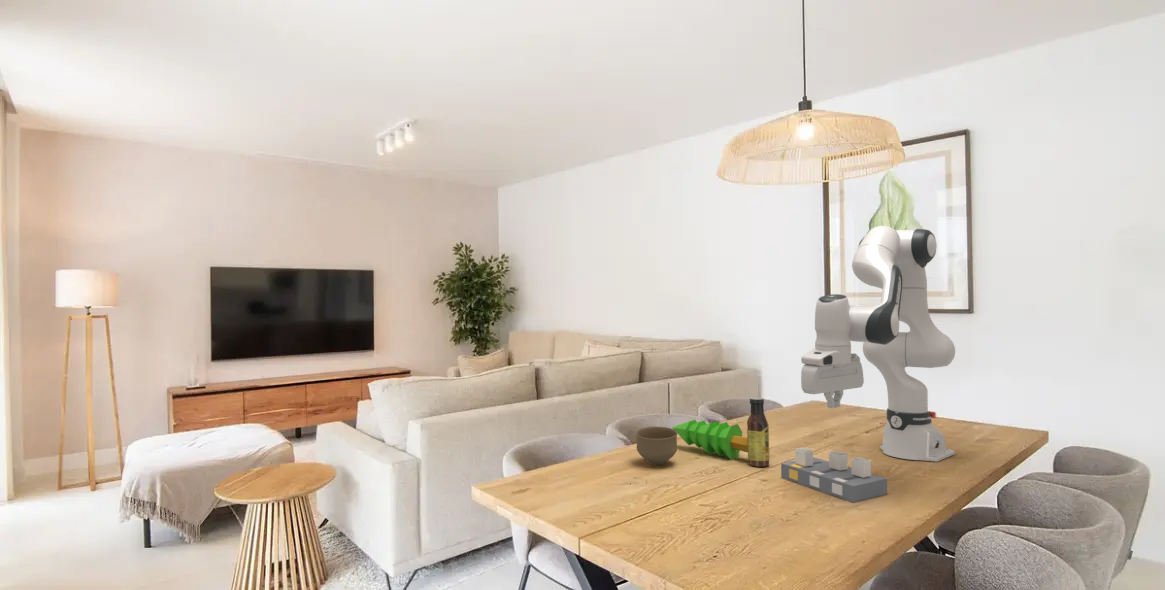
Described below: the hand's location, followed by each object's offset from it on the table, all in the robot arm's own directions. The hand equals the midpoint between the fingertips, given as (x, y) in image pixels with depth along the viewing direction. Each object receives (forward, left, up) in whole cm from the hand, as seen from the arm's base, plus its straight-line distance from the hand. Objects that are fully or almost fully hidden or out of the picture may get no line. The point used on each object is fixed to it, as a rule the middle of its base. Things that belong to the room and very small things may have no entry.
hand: (833, 407), depth 158 cm
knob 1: (+3, -7, -17) cm, 18 cm away
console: (+1, 0, -21) cm, 21 cm away
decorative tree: (+7, -41, -21) cm, 47 cm away
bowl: (+30, -40, -21) cm, 54 cm away
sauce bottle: (+3, -24, -21) cm, 32 cm away
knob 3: (-2, +7, -17) cm, 18 cm away
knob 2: (-2, 0, -17) cm, 17 cm away
